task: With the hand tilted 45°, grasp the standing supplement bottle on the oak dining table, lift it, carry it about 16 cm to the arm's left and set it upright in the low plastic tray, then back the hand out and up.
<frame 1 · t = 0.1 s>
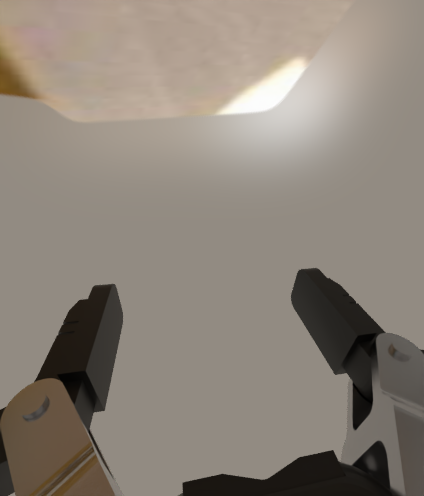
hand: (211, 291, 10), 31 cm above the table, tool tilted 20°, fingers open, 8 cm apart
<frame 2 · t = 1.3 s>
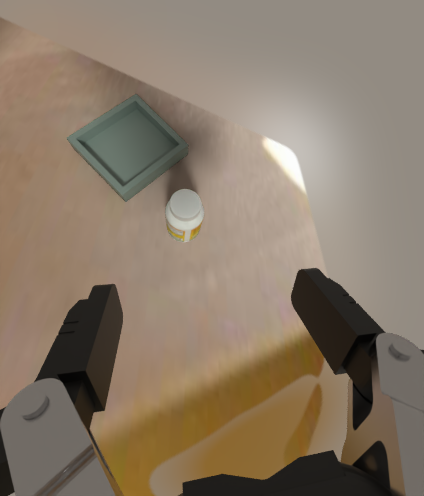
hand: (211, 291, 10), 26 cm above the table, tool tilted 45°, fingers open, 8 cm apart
supplement bottle: (183, 227, 38), on the table
tray: (132, 151, 40), on the table
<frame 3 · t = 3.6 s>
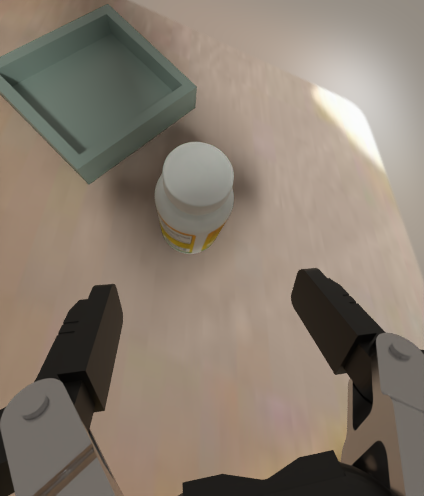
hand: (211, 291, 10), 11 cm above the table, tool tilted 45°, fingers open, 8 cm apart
supplement bottle: (190, 228, 22), on the table
tray: (102, 100, 24), on the table
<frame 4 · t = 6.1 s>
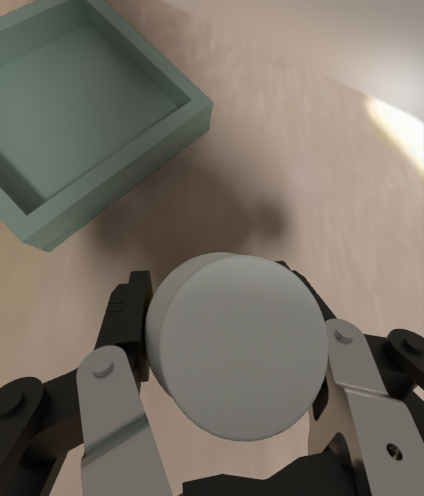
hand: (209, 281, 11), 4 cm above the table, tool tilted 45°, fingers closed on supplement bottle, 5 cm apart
supplement bottle: (203, 315, 15), on the table, touching gripper
tray: (75, 121, 16), on the table
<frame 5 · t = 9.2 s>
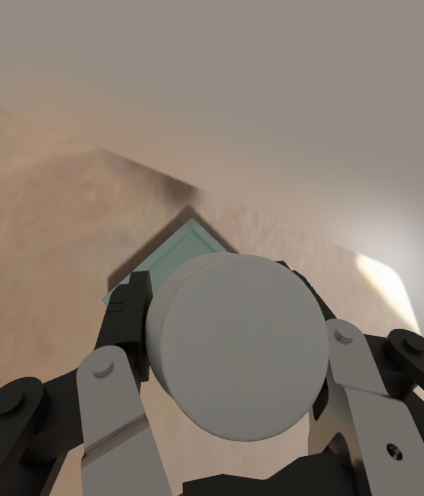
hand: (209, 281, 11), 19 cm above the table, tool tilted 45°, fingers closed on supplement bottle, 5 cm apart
supplement bottle: (203, 315, 15), point 14 cm above the table, touching gripper
tray: (188, 295, 29), on the table
when the fingers open (6 cm above the table, at t = 12.4 s): supplement bottle moves 1 cm, resting on tray.
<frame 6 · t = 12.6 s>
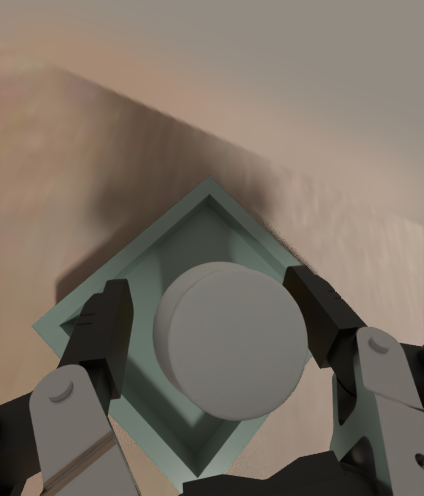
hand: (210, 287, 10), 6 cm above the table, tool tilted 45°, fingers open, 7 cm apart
supplement bottle: (203, 317, 16), point 1 cm above the table, touching tray
tray: (200, 314, 16), on the table
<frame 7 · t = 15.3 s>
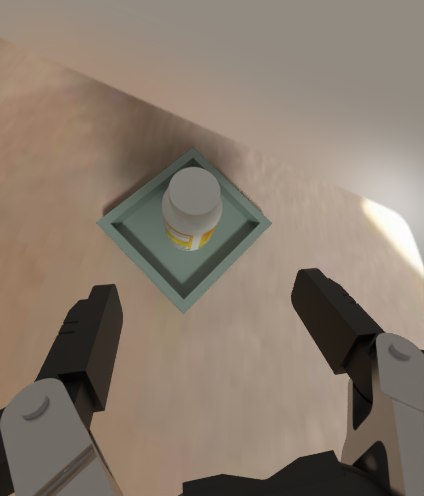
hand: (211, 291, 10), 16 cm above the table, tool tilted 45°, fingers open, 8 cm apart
supplement bottle: (189, 229, 27), point 1 cm above the table, touching tray
tray: (188, 230, 27), on the table
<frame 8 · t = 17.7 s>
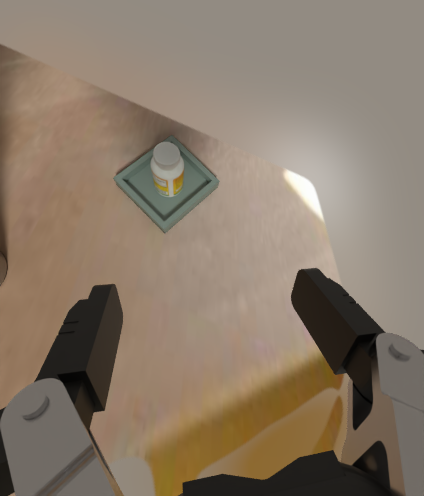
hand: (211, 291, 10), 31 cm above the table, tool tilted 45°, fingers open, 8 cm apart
supplement bottle: (169, 185, 43), point 1 cm above the table, touching tray
tray: (168, 186, 44), on the table
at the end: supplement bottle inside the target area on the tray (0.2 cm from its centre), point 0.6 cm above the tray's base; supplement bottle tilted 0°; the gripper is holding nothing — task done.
